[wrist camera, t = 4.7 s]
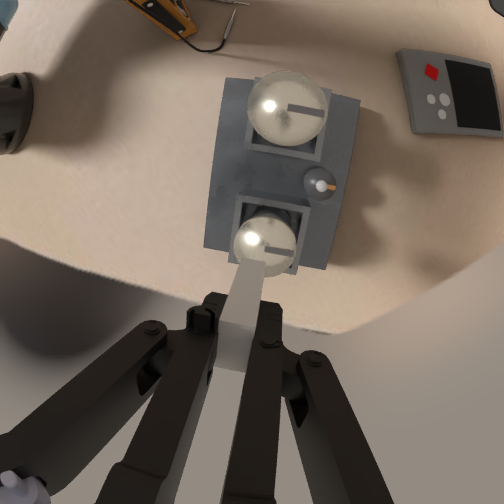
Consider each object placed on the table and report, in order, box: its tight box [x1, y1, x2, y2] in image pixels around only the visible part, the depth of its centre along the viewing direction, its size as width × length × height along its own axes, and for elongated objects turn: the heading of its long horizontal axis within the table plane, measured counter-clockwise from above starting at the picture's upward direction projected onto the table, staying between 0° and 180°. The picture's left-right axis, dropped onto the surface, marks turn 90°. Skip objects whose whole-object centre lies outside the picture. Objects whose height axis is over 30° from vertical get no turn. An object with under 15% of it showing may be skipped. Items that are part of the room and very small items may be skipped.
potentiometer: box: [303, 167, 337, 201], centre depth 26 cm, size 3×3×4 cm
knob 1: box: [247, 71, 328, 146], centre depth 20 cm, size 5×5×7 cm
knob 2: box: [233, 205, 296, 277], centre depth 27 cm, size 5×5×7 cm
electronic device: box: [396, 49, 504, 138], centre depth 24 cm, size 10×2×15 cm
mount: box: [204, 77, 361, 275], centre depth 28 cm, size 14×19×7 cm
